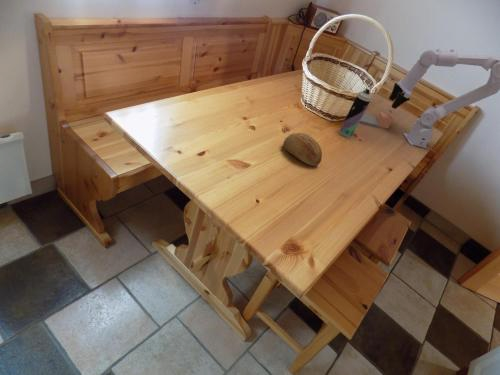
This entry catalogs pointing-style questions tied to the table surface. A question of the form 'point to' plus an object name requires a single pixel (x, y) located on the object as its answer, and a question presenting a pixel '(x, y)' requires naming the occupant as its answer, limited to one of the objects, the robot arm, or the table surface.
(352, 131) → the spray can
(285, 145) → the bread roll
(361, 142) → the table surface
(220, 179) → the table surface
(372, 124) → the slate tile
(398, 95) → the robot arm
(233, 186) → the table surface
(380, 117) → the clay cube
